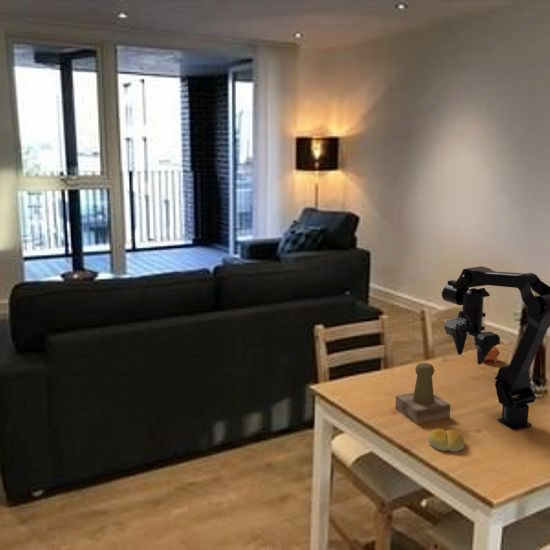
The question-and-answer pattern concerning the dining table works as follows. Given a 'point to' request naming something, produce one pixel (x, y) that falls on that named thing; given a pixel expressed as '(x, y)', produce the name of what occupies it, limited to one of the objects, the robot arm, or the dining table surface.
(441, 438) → the bread roll
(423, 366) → the cork
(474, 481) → the dining table surface
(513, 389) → the robot arm
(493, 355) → the pot
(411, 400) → the walnut block
